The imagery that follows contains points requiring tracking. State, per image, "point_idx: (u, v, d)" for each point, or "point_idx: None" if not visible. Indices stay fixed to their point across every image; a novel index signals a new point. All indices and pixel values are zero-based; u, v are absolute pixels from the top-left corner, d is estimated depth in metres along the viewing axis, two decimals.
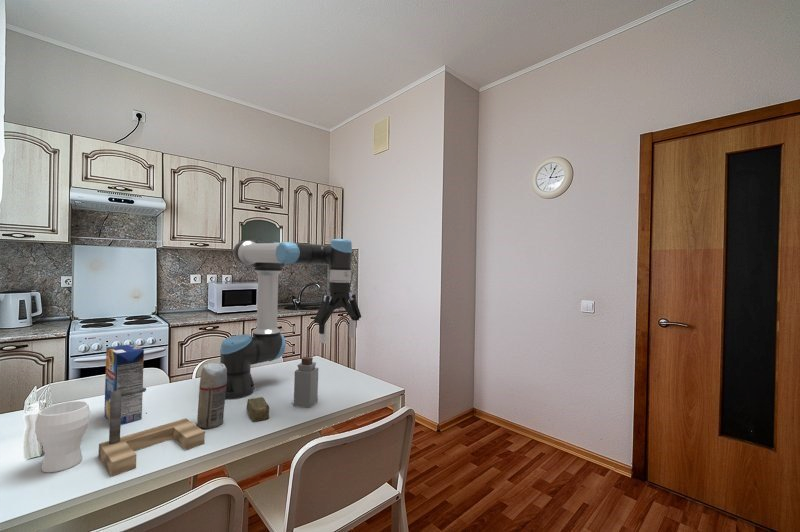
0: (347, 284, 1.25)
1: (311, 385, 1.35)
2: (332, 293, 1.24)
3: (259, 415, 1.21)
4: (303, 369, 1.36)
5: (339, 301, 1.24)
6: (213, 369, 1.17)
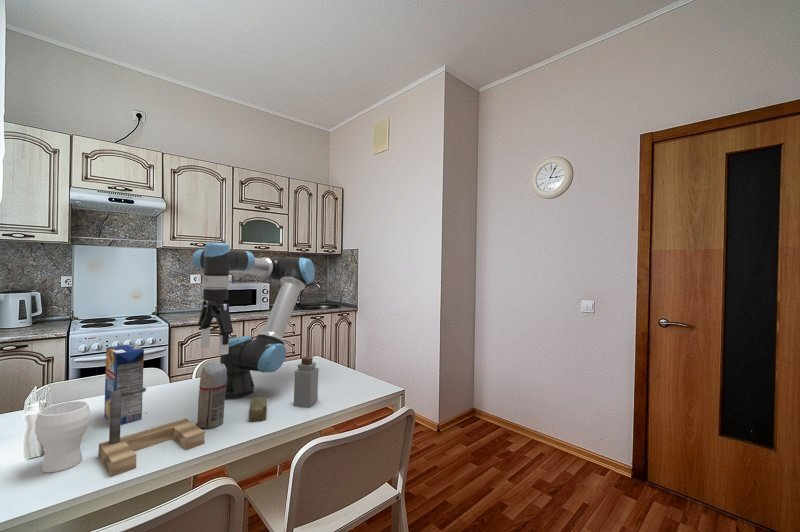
0: (204, 291, 1.15)
1: (311, 385, 1.35)
2: None
3: (255, 415, 1.21)
4: (303, 369, 1.36)
5: (207, 308, 1.18)
6: (213, 369, 1.17)
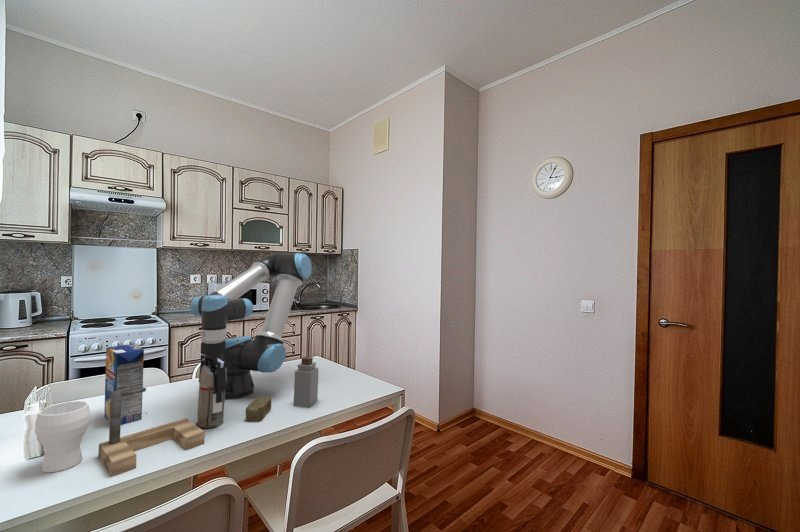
0: (202, 345, 1.15)
1: (311, 385, 1.35)
2: None
3: (250, 415, 1.21)
4: (303, 369, 1.36)
5: (204, 361, 1.18)
6: (213, 369, 1.17)
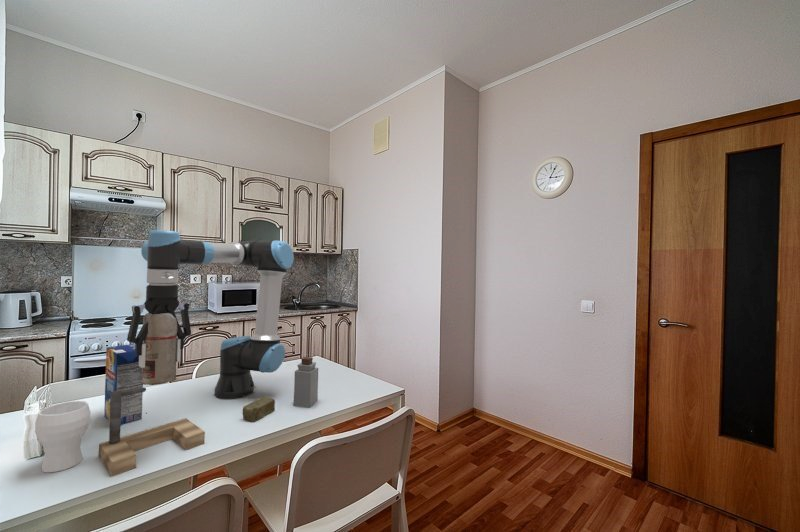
0: (168, 287, 0.98)
1: (311, 385, 1.35)
2: (147, 299, 0.97)
3: (246, 415, 1.21)
4: (303, 369, 1.36)
5: (157, 309, 0.98)
6: None
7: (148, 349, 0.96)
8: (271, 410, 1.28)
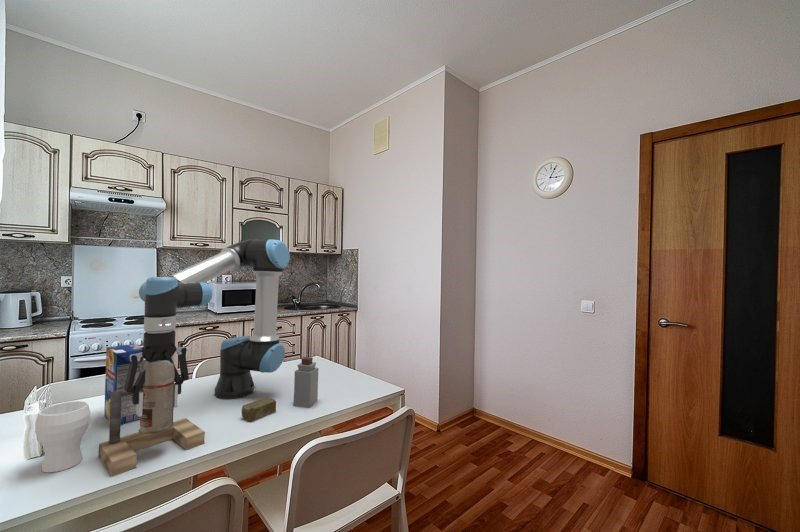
0: (165, 335, 0.98)
1: (311, 385, 1.35)
2: (144, 347, 0.97)
3: (244, 414, 1.22)
4: (303, 369, 1.36)
5: (155, 357, 0.98)
6: None
7: (145, 398, 0.96)
8: (271, 411, 1.27)
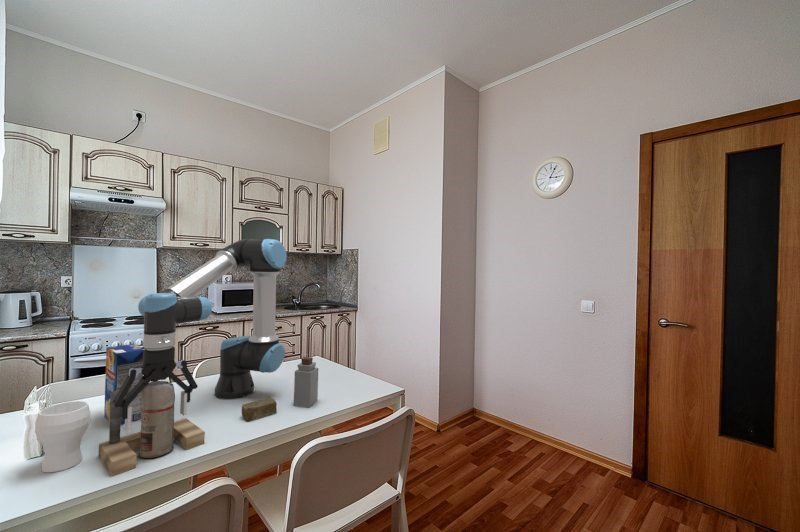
0: (164, 352, 0.98)
1: (311, 385, 1.35)
2: (143, 364, 0.97)
3: (243, 413, 1.23)
4: (303, 369, 1.36)
5: (153, 374, 0.97)
6: (167, 384, 1.01)
7: (145, 422, 0.96)
8: (271, 412, 1.27)
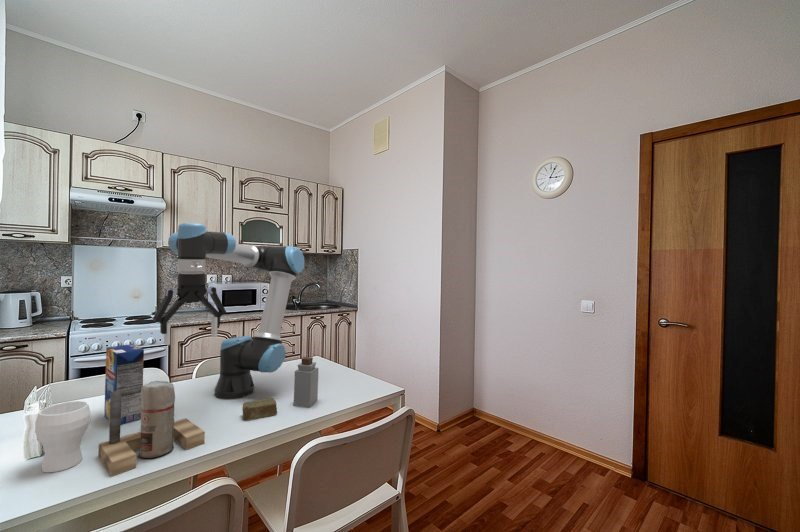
0: (197, 276, 1.07)
1: (311, 385, 1.35)
2: (179, 286, 1.06)
3: None
4: (303, 369, 1.36)
5: (188, 295, 1.07)
6: (167, 384, 1.01)
7: (146, 422, 0.96)
8: (270, 414, 1.25)
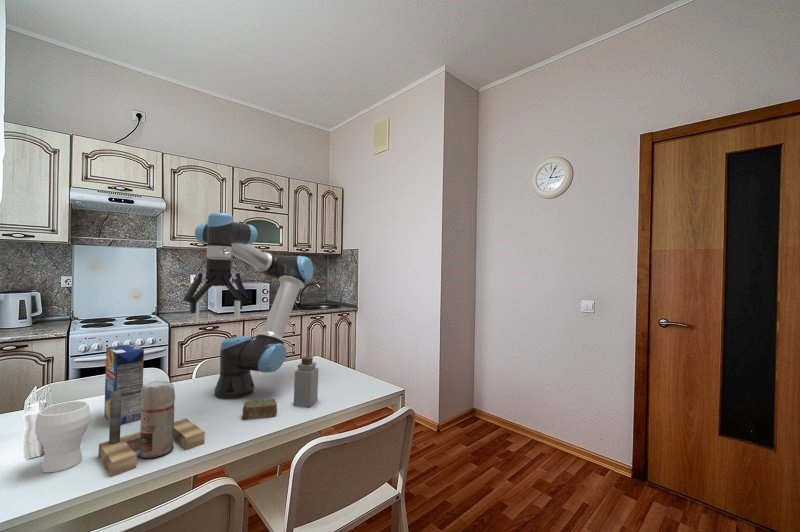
0: (224, 261, 1.17)
1: (311, 385, 1.35)
2: (207, 270, 1.16)
3: None
4: (303, 369, 1.36)
5: (215, 279, 1.17)
6: None
7: (146, 422, 0.96)
8: (268, 415, 1.24)
